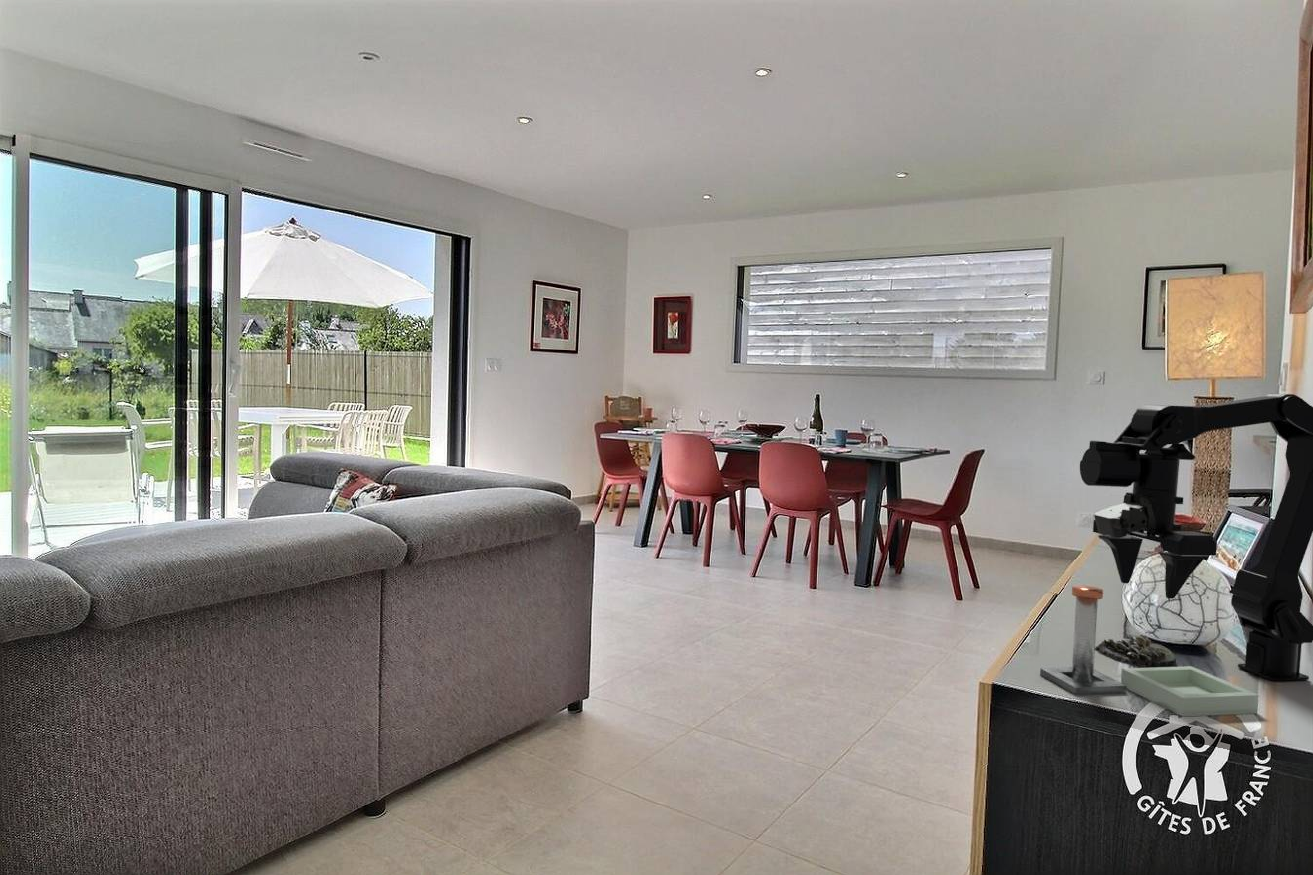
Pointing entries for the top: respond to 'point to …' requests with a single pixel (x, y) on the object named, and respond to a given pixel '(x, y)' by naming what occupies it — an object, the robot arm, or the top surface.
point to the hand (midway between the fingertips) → (1146, 590)
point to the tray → (1189, 691)
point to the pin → (1085, 632)
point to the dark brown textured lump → (1137, 652)
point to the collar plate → (1096, 687)
